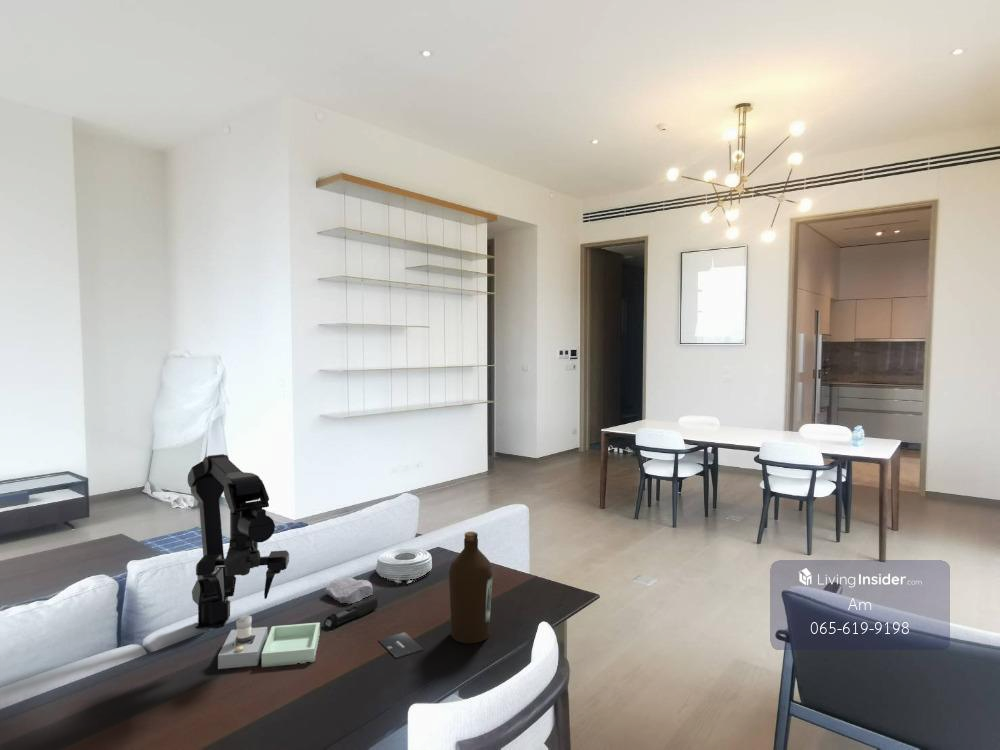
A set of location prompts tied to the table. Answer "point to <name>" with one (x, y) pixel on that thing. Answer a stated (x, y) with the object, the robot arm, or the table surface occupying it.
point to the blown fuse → (244, 630)
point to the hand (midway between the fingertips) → (244, 599)
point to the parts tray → (291, 644)
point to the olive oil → (470, 593)
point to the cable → (404, 564)
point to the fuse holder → (242, 649)
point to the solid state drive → (400, 645)
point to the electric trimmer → (350, 614)
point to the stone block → (349, 590)
